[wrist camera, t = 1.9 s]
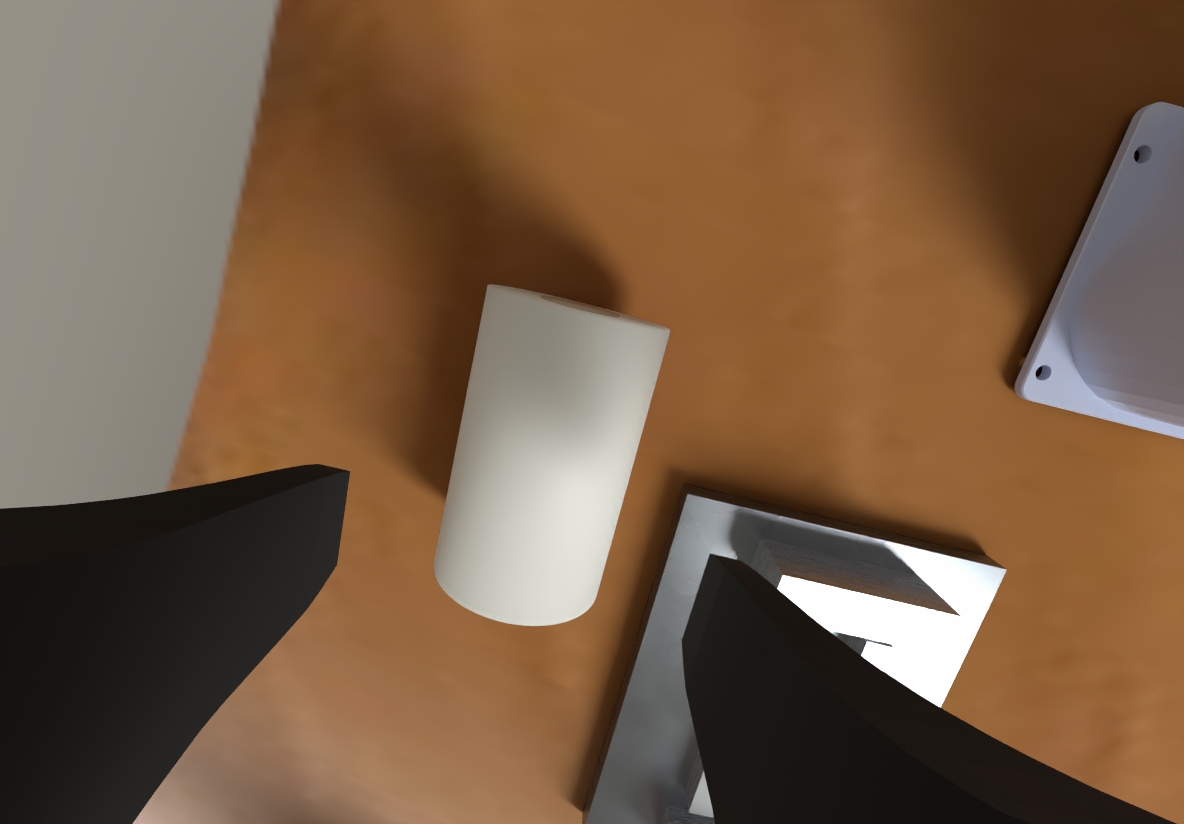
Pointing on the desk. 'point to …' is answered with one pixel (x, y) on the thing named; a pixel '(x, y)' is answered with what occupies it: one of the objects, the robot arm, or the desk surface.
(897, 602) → the roll cradle
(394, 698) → the desk surface
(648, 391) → the paper roll
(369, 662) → the desk surface
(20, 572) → the robot arm
